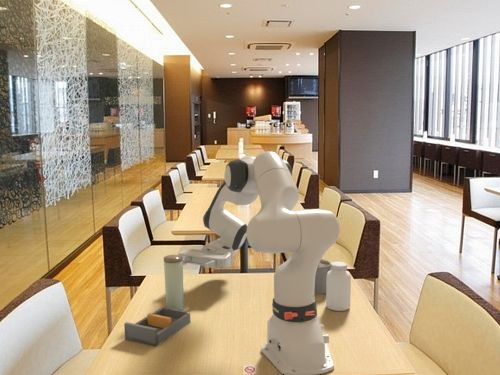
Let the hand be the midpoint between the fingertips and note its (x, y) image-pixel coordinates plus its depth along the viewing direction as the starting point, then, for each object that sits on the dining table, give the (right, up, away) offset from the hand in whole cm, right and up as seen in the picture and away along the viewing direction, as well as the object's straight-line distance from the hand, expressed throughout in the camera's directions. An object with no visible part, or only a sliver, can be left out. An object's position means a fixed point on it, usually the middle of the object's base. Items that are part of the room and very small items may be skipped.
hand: (193, 264), depth 182 cm
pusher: (-8, -15, -25) cm, 30 cm away
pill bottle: (+49, -13, -10) cm, 52 cm away
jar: (-5, -14, -9) cm, 17 cm away
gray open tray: (-8, -16, -25) cm, 31 cm away
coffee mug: (+46, -10, +7) cm, 48 cm away
